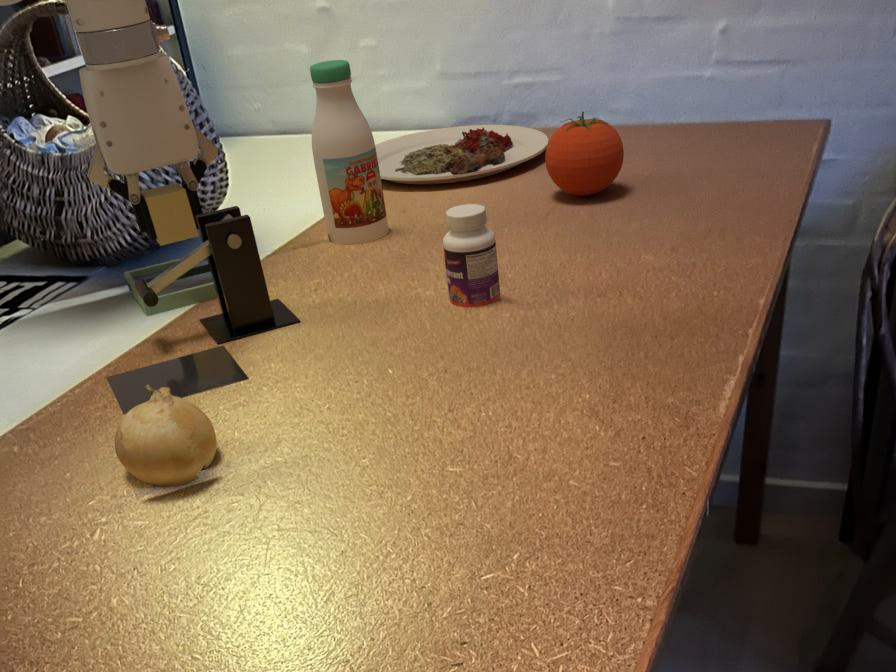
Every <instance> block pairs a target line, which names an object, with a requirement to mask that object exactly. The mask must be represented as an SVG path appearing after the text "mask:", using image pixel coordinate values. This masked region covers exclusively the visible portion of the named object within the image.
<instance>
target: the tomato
mask: <svg viewBox="0 0 896 672" xmlns="http://www.w3.org/2000/svg"><path fill="white" fill-rule="evenodd" d="M584 115H585V111H581V115H578V116H577V117H576V119H577V120H574V119H572V118H571V117H569V118H568V119H565V120H562V121H560V123H564V122H565V123H564V124H562V125H561V126H560V127H558V128H557V129H556V130H555V131H554V133H553V134H552V135H551V136H550V138H549V139H548V141H549V142H548V145H547V148H546V149H545V158H544V159H545V162H544V163H545V167H546V168H545V169H546V171H547V173H548V176H549V178H550V179H551V180H552V182H553V183H554V185H555V186H557V188H559V189H560V190H562V191H564V192H565V193H567V194H570V195H574V196H578V197H579V196H581V197H582V196H592V195H595V194H597V193H600V192H602V191H604V190H605V189H607V188H608V187H609V186H610V185H612V184H613V182H614V181H615V180H616V179H617V178H618V176H619V173H620V172H621V170H622V167H623V165H624V155H625V152H624V150H625V149H624V144H623V141H622V138H621V137H622V136H621V135H620V134H619V132H618V131H617V129H616V128H615V127H613V126H612V125H611V124H609V122H606V121H605V120H603V119H601V118H600V117H592V118H585V117H584ZM568 120H570V121H568ZM566 121H568V122H566Z"/></svg>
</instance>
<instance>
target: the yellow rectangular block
mask: <svg viewBox="0 0 896 672" xmlns="http://www.w3.org/2000/svg"><path fill="white" fill-rule="evenodd" d="M140 194H141V195H142V197H143V200H144V201H145V202H146V203H147V206H148V209H149V212H150V216H151V219H152V222H153V225H154V229H155V232H156V235H157V238H156V240H155V241H156V242H157V244H159V246H160V247H162V246H165V245H170V244H173V243H178V242H181V241H186V240H191V239H193V238H198V237H199V233H198V232H199V231H198V230H197V229H196V225H195V222H194V218H193V215H192V211H191V207H190V204H189V200H188V197H187V193H186V190H185V189H184V188H183V187H182V185H181V183H179V182H174V183H170V184H166V185H161V186H157V187H153V188H149V189H143V190H140Z"/></svg>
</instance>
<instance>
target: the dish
mask: <svg viewBox="0 0 896 672" xmlns="http://www.w3.org/2000/svg"><path fill="white" fill-rule="evenodd" d="M182 258H183V257H181V258H177V259H172V260H169V261H164V262H161V263H157V264H153V265H148V266H143V267H140V268H136V269H132V270H128V271H124V272H123V276H124V279H125V280H126V282H127V284H126V285H127V287H128V290H129V292H130V293H132V295H133V297H134V298H135V301H137V303H138V304H139V306H140V307H141V309H142V311H143V313H144V314H145V315H146V317H150V316H154V315H157V314H161V313H165V312H169V311H173V310H177V309H181V308H184V307H189V306H192V305H196V304H200V303H204V302H207V301H210V300H211V301H212V300H216V299H218V297H217V293H216V290H215V286H214V283H213V281H212V282H208V283H204V284H200V285H195V286H192V287H188V288H184V289H181V290H177V291H173V292H168V293H164V294H160V295H157V296H158V299H159V300H158V304H157V305H156V306H154V307H149V306H147V305H146V304H145V303H144V301H143V300H142V298H141V297H140V295H139V294H138V292H137V291H136V289H135V286H134V285H135V282H136V280H135V279H136V278H139V277H143V276H146V275H151V274H155V273H160V272H164V271H165V270H167V269H168V268H169V267H171V266H172V265H174V264H175V263H176V262H178V261H179V260H180V259H182ZM204 261H207V258H205V259H204V260H203V261H202V262H204ZM207 273H211V272H210V268H209V264H208V263H207V264H204V265H203V264H202V265H199V266H194V267H193V268H192V269H190V270H189V271H187V272H186V273H185V274H183V275H182V276H181V277H179V278H178V279H176V280H175V281H178V280H182V279H186V278H190V277H194V276H198V275H203V274H207ZM155 277H156V276H154V277H150V278H145V280H146V281H147V282H148V283H149V282H150V281H151V280H153V279H154V278H155ZM134 278H135V279H134Z"/></svg>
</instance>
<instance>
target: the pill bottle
mask: <svg viewBox="0 0 896 672" xmlns="http://www.w3.org/2000/svg"><path fill="white" fill-rule="evenodd" d="M445 217H446V218H445V219H446V226H447V228H448V229H449V231H448V232H447V233H446V234H445V235H444V236H443V239H442V249H443V257H444V258H443V259H444V266H445V273H446V274H445V275H446V281H447V290H448V291H447V292H448V299H449V303H451V305H453V306H456V307H461V308H476V307H482V306H483V307H484V306H487V305H490V304H492V303H495V302H496V301H498V300H499V299H501V286H500V275H499V265H498V252H497V242H496V235H495V233H494V231H493V230H492V229H491V228H489V227H487V226H486V225H487V223H488V222H487V220H488V218H487V212H486V207H485V206H484V205H483V204H479V203H478V204H477V203H466V204H459V205H456V206H452V207H451V208H449V209H447V210H446V211H445Z"/></svg>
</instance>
